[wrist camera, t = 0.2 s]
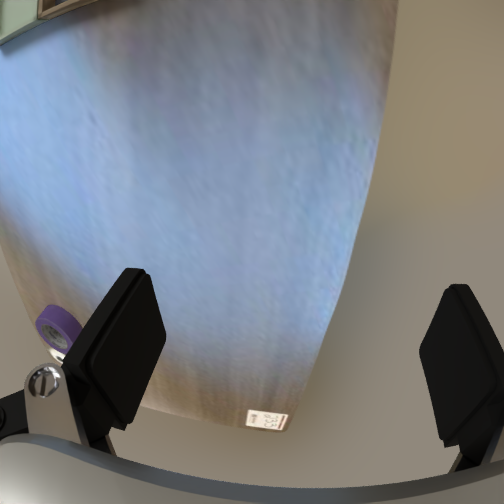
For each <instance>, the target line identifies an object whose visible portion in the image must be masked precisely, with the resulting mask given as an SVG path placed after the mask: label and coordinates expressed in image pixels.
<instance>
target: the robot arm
mask: <svg viewBox="0 0 504 504" xmlns="http://www.w3.org/2000/svg"><path fill="white" fill-rule="evenodd" d="M165 342H166V331H165V328H164V324H163V321H162V317H161V314H160V310H159V307H158V303H157V300H156V296H155V292H154V288H153V284H152V281H151V277H150V275H149V274H146V272H145V270H144V269H138V268H126V269H125V270H124V271H123V272H122V274H121V275H120V276H119V278H118V279H117V280H116V282H115V283H114V285H113V286H112V287H111V289H110V290H109V292H108V293H107V294H106V296H105V297H104V299H103V300H102V301H101V303H100V304H99V306H98V307H97V309H96V310H95V312H94V313H93V314H92V316H91V317H90V319H89V320H88V322H87V323H86V325H85V326H84V328H83V329H82V331H81V332H80V334H79V335H78V337H77V339H76V340H75V342H74V343H73V345H72V346H71V348H70V349H69V351H68V353H67V354H66V356H65V357H64V359H63V364H62V366H61V367H60V366H59V365H56V364H54V363H44V364H41V365H39V366H37V367H35V368H34V369H33V370H32V371H31V372H30V373H29V374H28V376H27V378H26V380H25V384H24V389H23V390H21V391H18V392H16V393H13V394H11V395H9V396H6V397H4V398H1V399H0V504H504V351H503V349H502V347H501V345H500V343H499V341H498V339H497V337H496V335H495V333H494V331H493V329H492V327H491V325H490V323H489V321H488V319H487V317H486V315H485V314H484V312H483V310H482V308H481V306H480V304H479V303H478V301H477V299H476V297H475V296H474V294H473V292H472V290H471V289H470V287H469V286H468V285H467V284H451V285H450V286H449V288H447V289H445V291H444V293H443V296H442V298H441V301H440V303H439V306H438V308H437V310H436V312H435V315H434V317H433V319H432V322H431V324H430V326H429V328H428V330H427V333H426V335H425V337H424V339H423V341H422V343H421V346H420V349H419V355H420V359H421V363H422V366H423V370H424V374H425V377H426V381H427V385H428V389H429V393H430V397H431V401H432V406H433V410H434V415H435V419H436V424H437V429H438V434H439V438H440V439H441V440H443V442H444V447H445V448H446V447H451V446H456V445H458V444H459V448H460V452H459V454H458V456H457V458H456V460H455V461H454V463H453V465H452V467H451V469H450V471H449V472H448V474H444V475H440V476H434V477H429V478H424V479H419V480H413V481H407V482H400V483H392V484H384V485H374V486H362V487H346V488H285V487H269V486H257V485H248V484H239V483H231V482H224V481H217V480H211V479H205V478H200V477H195V476H190V475H184V474H180V473H176V472H171V471H167V470H163V469H159V468H155V467H151V466H148V465H144V464H140V463H137V462H133V461H130V460H126V459H123V458H120V457H117V455H116V453H115V450H114V448H113V445H112V442H111V440H110V437H109V431H110V429H111V427H114V428H117V429H120V430H124V431H125V428H126V426H127V424H130V423H132V422H133V420H134V417H135V415H136V412H137V409H138V407H139V405H140V402H141V400H142V397H143V395H144V392H145V390H146V387H147V385H148V383H149V380H150V378H151V375H152V373H153V370H154V368H155V366H156V363H157V361H158V359H159V356H160V354H161V352H162V349H163V347H164V344H165Z"/></svg>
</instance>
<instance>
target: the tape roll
mask: <svg viewBox="0 0 504 504" xmlns="http://www.w3.org/2000/svg"><path fill="white" fill-rule="evenodd" d="M35 324H36V328H37V330H38V332H39V334H40V335H41V337H42V338H43V339H44V340H45V341H46V342H47V343H48V344H49V345H50V346H51V347H53V348H54V349H55V350H57V351H59V352H61V353H63V354H67V353H68V351H69V349H70V348H71V346H72V345H73V343H74V342H75V340H76V339H77V337H78V335H79V334H80V332H81V331H82V327H81V326H80V324H79V322H78V321H77V320H76V319H75V318H74V317H73V316H72V315H71V314H70V313H69V312H67V311H66V310H65V309H63V308H61V307H59V306H56V305H49V306H47V307H46V308H45V310H44V311H43V312H42V313H41V315H40V316H39V317H38V318H37V320H36V322H35Z"/></svg>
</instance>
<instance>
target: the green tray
mask: <svg viewBox="0 0 504 504" xmlns="http://www.w3.org/2000/svg"><path fill="white" fill-rule="evenodd" d="M38 9H39V0H0V46H1V45H3V44H4V43H6V42H8V41H9V40H11V39H13V38H15V37H17V36H18V35H20V34H22V33H24V32H26V31H28V30H30V29H32V28H34V27H36V26H38V25H40V24H42V23H44V22H46V21H48V20H49V19H38Z"/></svg>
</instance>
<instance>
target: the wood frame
mask: <svg viewBox="0 0 504 504" xmlns="http://www.w3.org/2000/svg"><path fill="white" fill-rule="evenodd" d="M95 1H98V0H68V1H65V2H63V3H61V4H59V5H56V6H55V0H39V9H38V19H53V18H55V17H57V16H59V15H62V14H64V13H66V12H69V11H71V10H74V9H76V8H79V7H82V6H84V5H87V4H90V3H92V2H95Z"/></svg>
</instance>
